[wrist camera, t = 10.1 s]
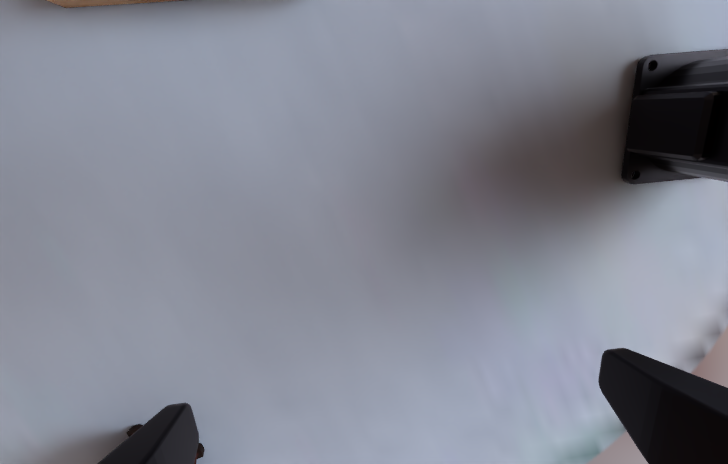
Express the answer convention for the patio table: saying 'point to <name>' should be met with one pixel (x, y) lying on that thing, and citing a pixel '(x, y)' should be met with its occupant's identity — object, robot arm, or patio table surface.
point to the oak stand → (99, 2)
